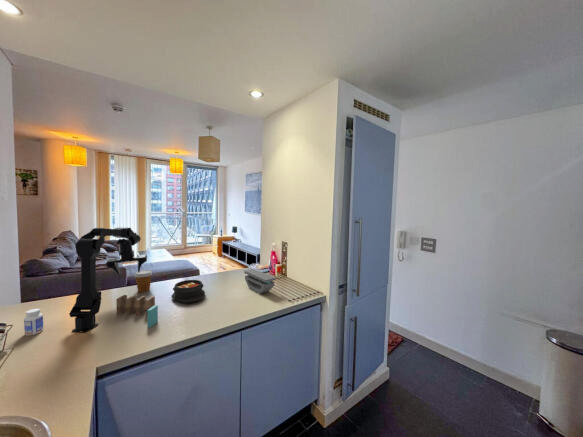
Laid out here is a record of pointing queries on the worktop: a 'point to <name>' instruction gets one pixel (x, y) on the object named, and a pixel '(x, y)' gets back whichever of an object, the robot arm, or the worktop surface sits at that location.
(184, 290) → the casserole
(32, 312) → the pill bottle
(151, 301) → the domino
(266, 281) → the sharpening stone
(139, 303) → the domino
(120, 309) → the domino
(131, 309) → the domino
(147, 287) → the disposable coffee cup
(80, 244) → the robot arm
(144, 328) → the worktop surface
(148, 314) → the teal domino
